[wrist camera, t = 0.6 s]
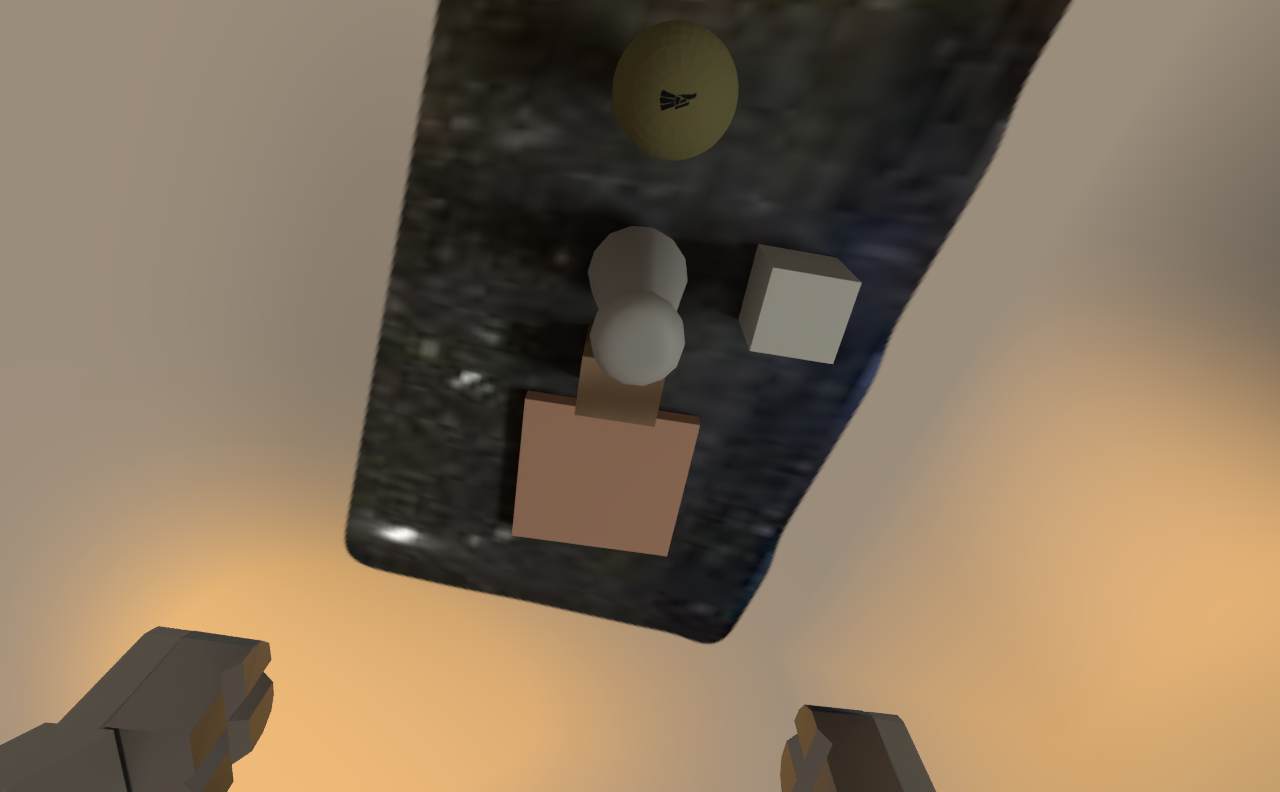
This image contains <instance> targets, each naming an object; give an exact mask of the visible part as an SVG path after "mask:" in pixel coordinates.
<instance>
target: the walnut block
mask: <svg viewBox="0 0 1280 792" xmlns="http://www.w3.org/2000/svg"><path fill="white" fill-rule="evenodd" d="M592 326H593V325H589V327H588V332H587V337H586V342H585V347H584V352H583V357H582V364H581V371H580V378H579V385H578V392H577V399H576V407H575V414H574V415H578V416H585V417H591V418H598V419H605V420H611V421H618V422H625V423H632V424H638V425H645V426H652V427H655V423H656V419H657V414H658V409H659V404H660V400H661V395H662V390H663V386H664V381H665V377H664V378H663V379H662V380H659V381H656V382H654V383H651V384H648V385H645V386H638V385H627V384H622V383H620V382H618V381H616V380H615V379H613V378H611V377H609V376H607V375H606V374H605V373H604V372H603V370H602V369H601V368H600V366H599V365H598V364H597V362H596V361H595V359H594V355H593V351H592V346H591V341H590V336H589V335H590V332H591V329H592Z"/></svg>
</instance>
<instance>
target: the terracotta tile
mask: <svg viewBox="0 0 1280 792" xmlns="http://www.w3.org/2000/svg"><path fill="white" fill-rule="evenodd" d="M576 399H577V398H574V397H568V396H561V395H554V394H548V393H541V392H535V391H528V392H527V395H526V398H525V405H524V415H523V425H522V436H521V446H520V457H519V467H518V477H517V488H516V498H515V509H514V519H513V529H512V536H520V537H527V538H535V539H542V540H550V541H557V542H565V543H572V544H580V545H587V546H595V547H602V548H609V549H617V550H624V551H632V552H639V553H647V554H654V555H662V556H667V554H668V550H669V546H670V542H671V538H672V534H673V530H674V526H675V522H676V518H677V514H678V510H679V506H680V502H681V498H682V494H683V491H684V487H685V483H686V479H687V475H688V471H689V467H690V463H691V459H692V455H693V451H694V447H695V443H696V439H697V435H698V431H699V427H700V422H699V416H693V415H686V414H679V413H673V412H666V411H660V410H658V414H657V419H656V423H655V427H652V426H645V425H638V424H632V423H625V422H618V421H611V420H605V419H598V418H591V417H585V416H578V415H574V414H575V407H576Z"/></svg>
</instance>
